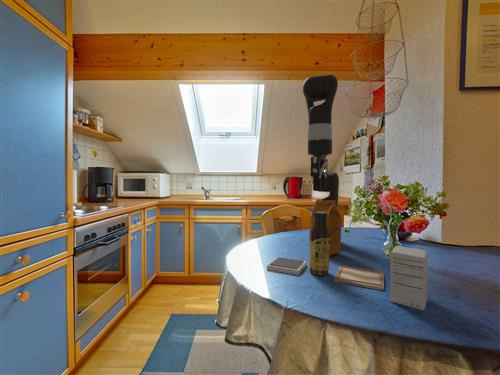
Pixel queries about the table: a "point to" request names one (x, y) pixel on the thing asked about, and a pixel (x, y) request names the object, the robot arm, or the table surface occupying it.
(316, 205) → the coffee package
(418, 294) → the supplement box
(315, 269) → the sauce bottle
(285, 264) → the ink pad
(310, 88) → the robot arm
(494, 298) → the table surface
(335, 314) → the table surface
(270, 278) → the table surface
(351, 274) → the marked board
